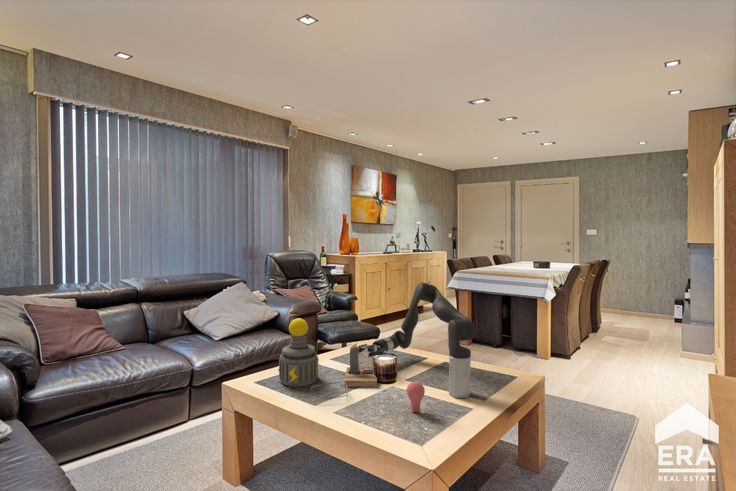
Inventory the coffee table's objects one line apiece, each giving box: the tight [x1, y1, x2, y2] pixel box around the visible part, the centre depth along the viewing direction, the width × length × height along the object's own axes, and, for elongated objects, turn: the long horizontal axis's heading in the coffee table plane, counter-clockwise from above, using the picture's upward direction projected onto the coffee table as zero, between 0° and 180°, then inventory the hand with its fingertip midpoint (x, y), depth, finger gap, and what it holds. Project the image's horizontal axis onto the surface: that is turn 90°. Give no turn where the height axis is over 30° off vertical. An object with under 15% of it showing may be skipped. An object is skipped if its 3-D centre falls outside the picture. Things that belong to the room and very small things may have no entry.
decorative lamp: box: [278, 317, 320, 388], centre depth 205 cm, size 19×19×30 cm
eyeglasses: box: [310, 381, 349, 406], centre depth 188 cm, size 16×15×5 cm
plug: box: [349, 342, 360, 374], centre depth 208 cm, size 4×4×17 cm
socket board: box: [343, 366, 378, 388], centre depth 207 cm, size 18×15×3 cm
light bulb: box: [406, 381, 426, 413], centre depth 172 cm, size 7×7×12 cm
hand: (362, 353), depth 213 cm, fingers open, 8 cm apart
